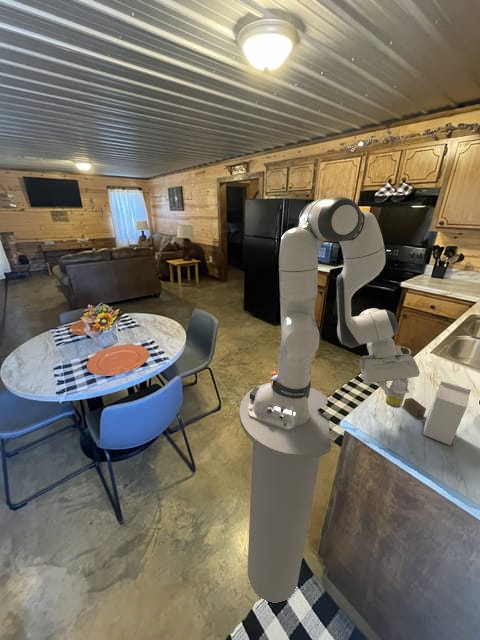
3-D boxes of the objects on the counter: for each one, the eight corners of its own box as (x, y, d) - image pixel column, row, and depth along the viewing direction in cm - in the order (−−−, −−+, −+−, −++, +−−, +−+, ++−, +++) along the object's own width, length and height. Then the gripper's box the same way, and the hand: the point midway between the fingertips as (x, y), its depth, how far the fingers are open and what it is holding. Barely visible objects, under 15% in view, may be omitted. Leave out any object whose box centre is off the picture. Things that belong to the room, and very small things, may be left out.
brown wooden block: (423, 417, 92) (426, 408, 91) (416, 419, 92) (419, 410, 90) (409, 406, 98) (412, 397, 96) (402, 407, 97) (405, 398, 95)
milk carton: (450, 446, 81) (471, 396, 74) (423, 434, 85) (440, 386, 78) (450, 432, 86) (470, 384, 79) (424, 422, 90) (441, 375, 83)
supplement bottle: (389, 397, 92) (395, 377, 88) (403, 405, 88) (410, 384, 85) (382, 402, 89) (388, 381, 86) (396, 410, 85) (403, 389, 82)
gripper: (363, 354, 86) (377, 397, 81) (414, 348, 91) (430, 389, 86) (352, 358, 92) (364, 399, 87) (400, 353, 96) (415, 391, 91)
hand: (397, 394), depth 86 cm, fingers closed on supplement bottle, 5 cm apart
